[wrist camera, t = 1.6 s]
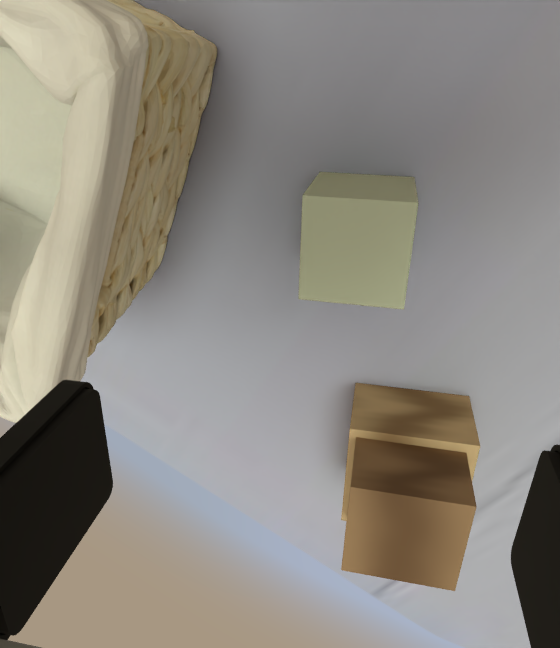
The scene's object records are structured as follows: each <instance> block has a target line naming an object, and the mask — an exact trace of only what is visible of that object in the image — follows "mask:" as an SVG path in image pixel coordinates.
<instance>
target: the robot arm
mask: <svg viewBox="0 0 560 648" xmlns="http://www.w3.org/2000/svg"><path fill="white" fill-rule="evenodd" d="M112 487H113V480H112V473H111V466H110V460H109V453H108V447H107V440H106V435H105V427H104V420H103V414H102V407H101V401H100V395H99V393H98V391H96V390H94V389H93V386H92V385H91V384H90V383H88V382H80V381H73V380H62V381H61V382H60V383H58V384H57V385H56V386H55V387H54V388H53V389H52V390H51V391H50V392H49V393H48V394H47V395H46V396H45V397H44V398H42V399H41V400H40V401H39V402H38V403H37V404H36V405H35V406H34V407H33V408H32V409H31V410H30V411H29V412H27V413H26V414H25V415H24V416H23V417H22V418H21V419H20V420H19V421H18V422H17V423H16V424H15V425H14V426H13V427H11V428H10V429H9V430H8V431H7V432H6V433H5V434H4V435H3V436H2V437H1V438H0V648H41V647H36V646H31V645H27V644H22V643H17V642H13V641H8V638H9V637H10V635H16V634H17V633H19V632H20V631H21V629H22V628H23V627H24V625H25V624H26V622H27V621H28V619H29V618H30V616H31V615H32V613H33V612H34V610H35V609H36V607H37V605H38V604H39V603H40V601H41V600H42V598H43V597H44V595H45V594H46V592H47V591H48V589H49V588H50V586H51V585H52V583H53V582H54V580H55V579H56V577H57V576H58V574H59V572H60V571H61V569H62V568H63V566H64V565H65V563H66V562H67V560H68V559H69V557H70V556H71V554H72V553H73V551H74V550H75V548H76V547H77V545H78V544H79V542H80V541H81V539H82V538H83V536H84V534H85V533H86V532H87V530H88V529H89V527H90V526H91V524H92V523H93V521H94V520H95V518H96V516H97V515H98V514H99V512H100V511H101V509H102V508H103V506H104V504H105V503H106V502H107V500H108V499H109V497H110V494H111V491H112ZM511 564H512V570H513V574H514V578H515V582H516V586H517V591H518V595H519V599H520V603H521V607H522V611H523V616H524V620H525V624H526V628H527V632H528V636H529V641H530V645H531V648H560V445H554V446H553V447H552V449H551V451H543V452H542V453H541V455H540V458H539V461H538V464H537V467H536V471H535V474H534V477H533V481H532V484H531V487H530V490H529V494H528V497H527V500H526V503H525V507H524V510H523V513H522V516H521V520H520V523H519V526H518V529H517V533H516V536H515V539H514V542H513V546H512V550H511Z"/></svg>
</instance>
